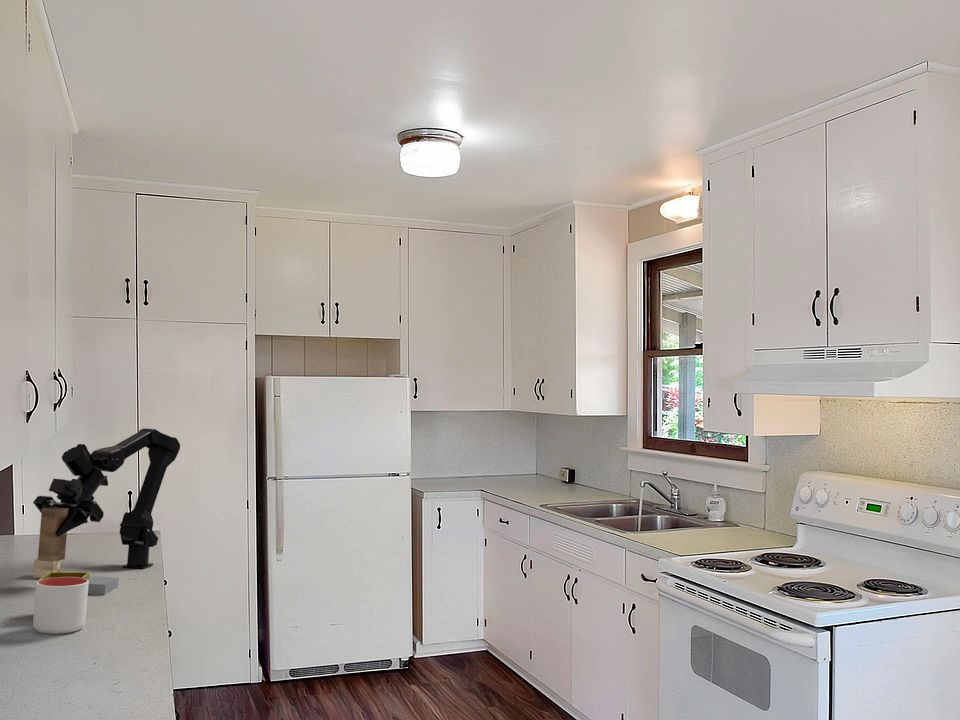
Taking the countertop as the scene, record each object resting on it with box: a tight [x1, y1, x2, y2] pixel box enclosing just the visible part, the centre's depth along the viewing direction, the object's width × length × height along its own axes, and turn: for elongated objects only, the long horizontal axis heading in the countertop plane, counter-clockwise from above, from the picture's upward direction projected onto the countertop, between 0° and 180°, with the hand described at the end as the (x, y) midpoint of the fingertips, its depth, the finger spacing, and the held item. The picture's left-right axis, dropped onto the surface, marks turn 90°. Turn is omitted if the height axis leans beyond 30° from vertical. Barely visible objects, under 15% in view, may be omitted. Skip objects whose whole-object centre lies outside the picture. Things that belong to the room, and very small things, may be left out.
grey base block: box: [88, 575, 119, 596], centre depth 219 cm, size 9×9×3 cm
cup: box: [32, 577, 89, 635], centre depth 183 cm, size 10×10×10 cm
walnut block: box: [37, 507, 68, 562], centre depth 222 cm, size 4×4×13 cm
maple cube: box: [32, 557, 61, 579], centre depth 233 cm, size 5×5×5 cm
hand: (49, 534), depth 220 cm, fingers closed on walnut block, 4 cm apart
